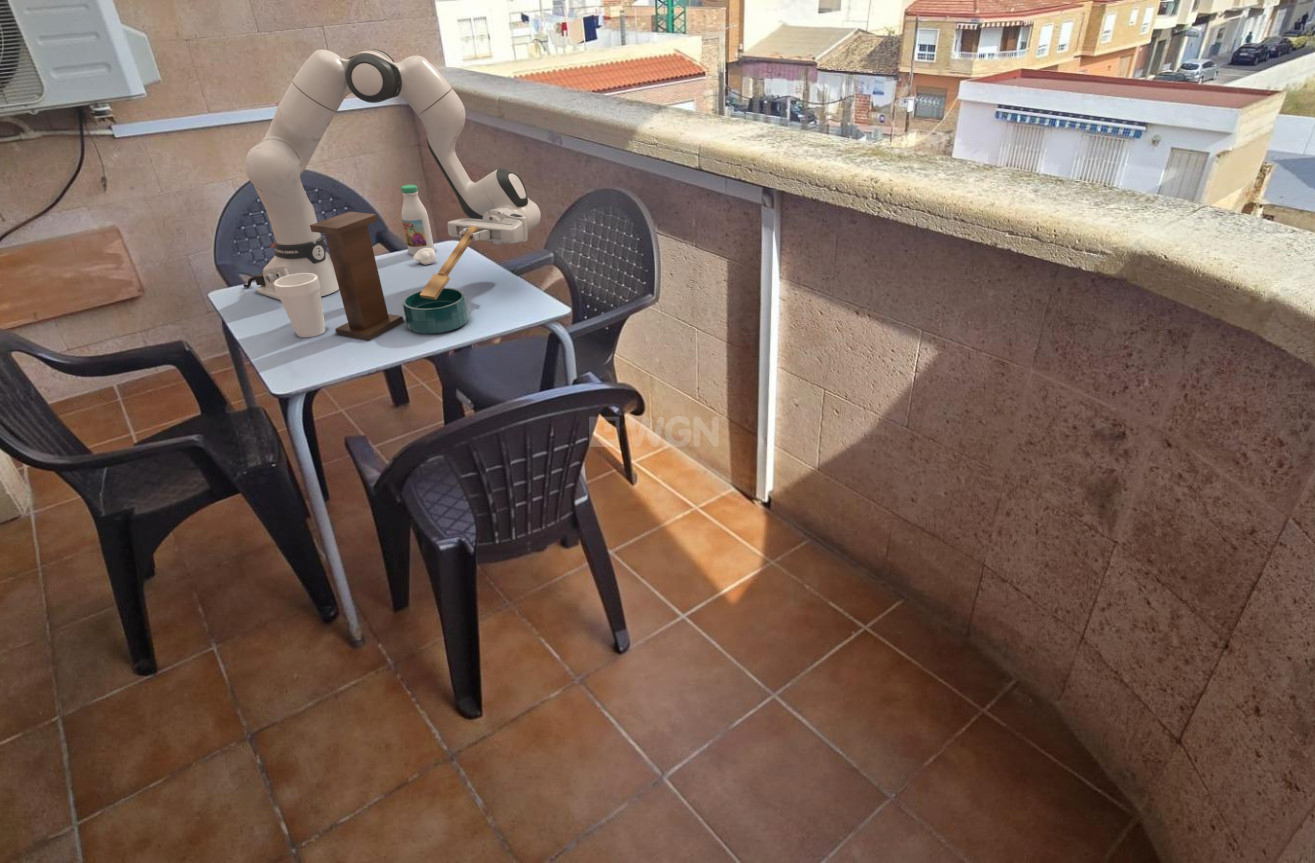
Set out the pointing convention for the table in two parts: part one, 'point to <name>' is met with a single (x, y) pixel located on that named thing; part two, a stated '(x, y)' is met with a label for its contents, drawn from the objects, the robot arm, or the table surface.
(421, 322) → the bowl
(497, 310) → the table surface
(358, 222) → the wooden pedestal
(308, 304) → the foam cup
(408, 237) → the milk bottle
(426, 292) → the spatula
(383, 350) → the table surface
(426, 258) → the white lumpy piece
